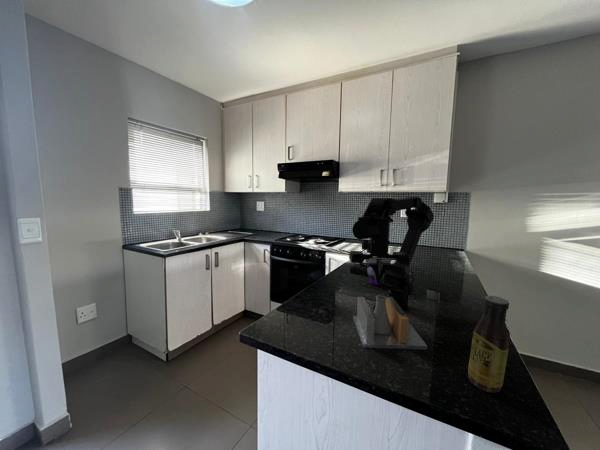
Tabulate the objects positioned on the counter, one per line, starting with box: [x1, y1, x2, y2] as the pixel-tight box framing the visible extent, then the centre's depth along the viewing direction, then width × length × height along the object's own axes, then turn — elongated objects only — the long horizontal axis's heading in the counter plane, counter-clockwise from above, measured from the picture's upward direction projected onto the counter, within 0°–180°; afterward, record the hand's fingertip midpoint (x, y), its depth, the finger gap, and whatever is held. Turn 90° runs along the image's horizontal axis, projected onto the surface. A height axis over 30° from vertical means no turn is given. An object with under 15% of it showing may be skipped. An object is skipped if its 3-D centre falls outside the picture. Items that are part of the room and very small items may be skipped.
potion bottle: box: [367, 260, 384, 287], centre depth 115 cm, size 9×9×12 cm
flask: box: [372, 294, 392, 335], centre depth 75 cm, size 7×7×10 cm
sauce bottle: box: [467, 295, 511, 394], centre depth 54 cm, size 6×6×20 cm
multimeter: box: [349, 261, 384, 282], centre depth 130 cm, size 13×19×5 cm
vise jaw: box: [386, 297, 410, 343], centre depth 75 cm, size 2×14×8 cm, turn 178°
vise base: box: [352, 296, 428, 351], centre depth 75 cm, size 17×16×8 cm
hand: (377, 282), depth 84 cm, fingers closed
